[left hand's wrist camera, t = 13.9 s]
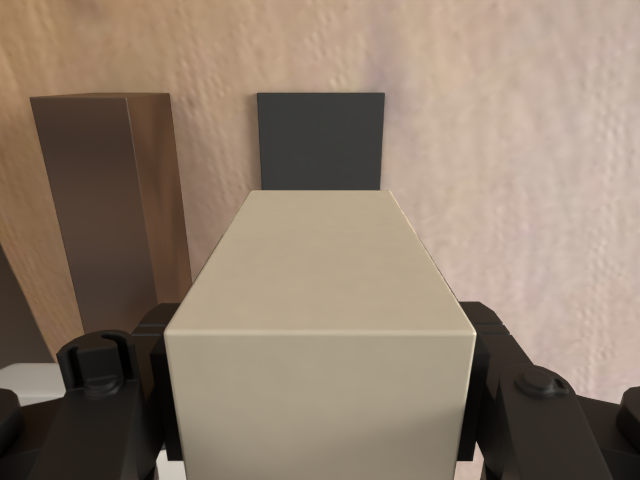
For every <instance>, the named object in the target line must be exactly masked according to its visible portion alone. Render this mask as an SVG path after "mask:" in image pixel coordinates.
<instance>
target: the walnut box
mask: <svg viewBox="0 0 640 480" xmlns="http://www.w3.org/2000/svg"><path fill="white" fill-rule="evenodd" d="M30 102H31V106H32V110H33V114H34V119H35V123H36V127H37V132H38V136H39V140H40V144H41V149H42V153H43V157H44V162H45V166H46V170H47V174H48V179H49V183H50V187H51V192H52V196H53V200H54V204H55V209H56V213H57V217H58V222H59V226H60V230H61V234H62V239H63V243H64V247H65V252H66V256H67V260H68V264H69V269H70V273H71V277H72V281H73V286H74V290H75V294H76V299H77V303H78V307H79V311H80V316H81V320H82V324H83V329H84V333H85V334H88V333H91V332H96V331H100V330H115V329H117V330H121V331H126V332H128V333H129V334H130V335H131V333H132V332H133V330H134V329H135V328H136V327H138V324H139V322H140V321H141V320H142V318H143V317H144V316H145V314H146V313H147V312H149V311H150V310H152V309H153V308H155V307H156V306H158V305H159V304H161V303H181V302H182V300H183V299H184V297H185V296H186V294H187V292H188V291H189V289H190V287H191V286H192V278H191V269H190V261H189V253H188V244H187V236H186V228H185V219H184V211H183V203H182V195H181V186H180V178H179V170H178V161H177V153H176V145H175V136H174V128H173V120H172V112H171V103H170V95H169V93H85V94H70V95H55V96H40V97H30Z"/></svg>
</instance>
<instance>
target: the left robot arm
mask: <svg viewBox="0 0 640 480" xmlns="http://www.w3.org/2000/svg"><path fill="white" fill-rule="evenodd" d="M417 236H418V235H417ZM222 237H223V236H222ZM222 237H221V238H222ZM418 238H419V237H418ZM419 239H420V238H419ZM220 240H221V239H220ZM420 241H421V240H420ZM218 243H219V242H218ZM422 244H423V243H422ZM217 245H218V244H217ZM217 245H216V246H217ZM423 246H424V245H423ZM215 248H216V247H215ZM425 249H426V248H425ZM214 250H215V249H214ZM214 250H213V251H214ZM426 251H427V250H426ZM427 252H428V251H427ZM212 253H213V252H212ZM428 254H429V253H428ZM210 256H211V255H210ZM429 256H430V255H429ZM430 257H431V256H430ZM209 258H210V257H209ZM209 258H208V259H209ZM431 259H432V258H431ZM432 260H433V259H432ZM207 261H208V260H207ZM433 262H434V261H433ZM205 264H206V263H205ZM434 264H435V263H434ZM435 265H436V264H435ZM204 266H205V265H204ZM204 266H203V267H204ZM436 267H437V266H436ZM202 269H203V268H202ZM437 269H438V268H437ZM438 270H439V269H438ZM201 271H202V270H201ZM201 271H200V272H201ZM439 272H440V271H439ZM440 273H441V272H440ZM199 274H200V273H199ZM441 275H442V274H441ZM197 277H198V276H197ZM442 277H443V276H442ZM443 278H444V277H443ZM196 279H197V278H196ZM196 279H195V280H196ZM444 280H445V279H444ZM194 282H195V281H194ZM445 282H446V280H445ZM446 283H447V282H446ZM192 285H193V284H192ZM447 285H448V284H447ZM191 287H192V286H191ZM191 287H190V288H191ZM448 287H449V285H448ZM449 288H450V287H449ZM189 290H190V289H189ZM450 290H451V289H450ZM451 291H452V290H451ZM188 292H189V291H188ZM188 292H187V293H188ZM452 293H453V292H452ZM186 295H187V294H186ZM453 295H454V293H453ZM454 296H455V295H454ZM184 298H185V297H184ZM455 298H456V297H455ZM183 300H184V299H183ZM183 300H182V301H183ZM456 300H457V298H456ZM457 301H458V300H457ZM181 303H182V302H181ZM181 303H161V304H159V305H158V306H156V307H155V308H153V309H152V310H150V311H149V312H147V313H146V314H145V316H144V317H143V318H142V320H141V321H140V322H139V324H138V327H136V328H135V329H134V330H133V332H132V333H131V335H130V334H129V333H128V332H126V331H121V330H117V329H115V330H100V331H96V332H91V333H88V334H85V335H83V336H80V337H78V338H75V339H74V340H72V341H71V342H69V343H67V344H66V345H64V346H63V347H62V348H61V349H60V351H59V352H58V353H57V354H56V356H57V360H58V363H59V367H60V371H61V375H62V378H63V382H64V386H65V390H66V392H65V394H64V397H61V398H57V399H53V400H49V401H44V402H39V403H35V404H30V405H25V406H21V405H20V402H19V399H18V396H17V394H16V393H14V392H13V391H12V390H10V389H3V388H0V480H159V474H158V467H157V462H156V460H157V458H158V456H159V453H160V451H161V448H162V446H163V444H164V443H165V448H166V454H167V460H168V461H183V455H182V449H181V443H180V436H179V430H178V423H177V417H176V410H175V404H174V397H173V391H172V384H171V378H170V372H169V365H168V359H167V352H166V346H165V339H164V331H165V329H166V327H167V326H168V324H169V322H170V321H171V319H172V317H173V316H174V314H175V313H176V311H177V309H178V308H179V306H180V305H181ZM458 303H459V304H460V306H461V308H462V309H463V311H464V313H465V314H466V316H467V318H468V319H469V321H470V322H471V324H472V326H473V327H474V329H475V331H476V341H475V347H474V353H473V360H472V366H471V372H470V379H469V385H468V392H467V398H466V404H465V411H464V417H463V423H462V430H461V436H460V443H459V449H458V455H457V461H473V456H474V450H475V444H476V441H477V443H478V446H479V448H480V450H481V453H482V455H483V457H484V462H483V467H482V473H481V478H480V480H640V386H639V387H632V388H629V389H628V390H627V391H626V392H624V394H623V397H622V400H621V403H620V405H619V404H614V403H610V402H605V401H600V400H595V399H591V398H586V397H583V396H579V395H576V394H575V391H574V390H573V388H572V387H571V386H570V384H569V383H568V382H567V381H566V380H565V379H563V378H562V377H561V376H559V375H558V374H557V373H555V372H553V371H550V370H548V369H546V368H544V367H541V366H537V365H534V364H533V363H532V362H531V360H530V359H529V358H528V356H527V355H526V354H525V352H524V351H523V350H522V348H521V347H520V346H519V344H518V343H517V342H516V340H515V339H514V338H513V336H512V335H510V332H509V331H508V330H507V328H506V327H505V325H503V323H502V321H501V320H500V319H499V317H498V316H497V315H496V313H495V312H494V311H493V310H491V309H490V308H488V307H487V306H485V305H483V304H482V303H480V302H459V301H458Z"/></svg>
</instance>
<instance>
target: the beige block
mask: <svg viewBox="0 0 640 480" xmlns="http://www.w3.org/2000/svg"><path fill="white" fill-rule="evenodd" d="M164 339H165V346H166V352H167V359H168V365H169V372H170V378H171V384H172V391H173V397H174V404H175V410H176V417H177V423H178V430H179V436H180V443H181V449H182V455H183V462H184V468H185V475H186V480H454V474H455V468H456V462H457V455H458V449H459V443H460V436H461V430H462V423H463V417H464V411H465V404H466V398H467V392H468V385H469V379H470V372H471V366H472V360H473V353H474V347H475V341H476V331H475V329H474V327H473V326H472V324H471V322H470V321H469V319H468V318H467V316H466V314H465V313H464V311H463V309H462V308H461V306H460V304H459V303H458V301H457V300H456V298H455V296H454V295H453V293H452V291H451V290H450V288H449V287H448V285H447V283H446V282H445V280H444V278H443V277H442V275H441V273H440V272H439V270H438V269H437V267H436V265H435V264H434V262H433V260H432V259H431V257H430V256H429V254H428V252H427V251H426V249H425V247H424V246H423V244H422V242H421V241H420V239H419V238H418V236H417V234H416V233H415V231H414V229H413V228H412V226H411V225H410V223H409V221H408V220H407V218H406V216H405V215H404V213H403V211H402V210H401V208H400V207H399V205H398V203H397V202H396V200H395V198H394V197H393V195H392V194H391V192H390V191H370V190H252V191H250V193H249V194H248V196H247V198H246V199H245V201H244V203H243V204H242V206H241V207H240V209H239V211H238V212H237V214H236V216H235V217H234V219H233V220H232V222H231V224H230V225H229V227H228V228H227V230H226V232H225V233H224V235H223V237H222V238H221V240H220V241H219V243H218V245H217V246H216V248H215V250H214V251H213V253H212V254H211V256H210V258H209V259H208V261H207V262H206V264H205V266H204V267H203V269H202V271H201V272H200V274H199V275H198V277H197V279H196V280H195V282H194V283H193V285H192V287H191V288H190V290H189V292H188V293H187V295H186V296H185V298H184V300H183V301H182V303H181V305H180V306H179V308H178V309H177V311H176V313H175V314H174V316H173V317H172V319H171V321H170V322H169V324H168V326H167V327H166V329H165V331H164Z"/></svg>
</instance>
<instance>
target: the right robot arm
mask: <svg viewBox="0 0 640 480" xmlns="http://www.w3.org/2000/svg"><path fill="white" fill-rule="evenodd" d="M0 388H3V389H10V390H12V391H13V392H14V393H16V394H17V396H18V399H19V402H20V405H21V406H25V405H30V404H35V403H39V402H44V401H49V400H53V399H57V398H61V397H64V394H65V392H66V390H65V386H64V382H63V378H62V375H61V371H60V367H59V363H16V364H12V365H9V366H7V367H5V368H2V369H0ZM156 462H157V467H158V474H159V480H186V475H185V468H184V462H183V461H168V460H167V454H166V448H165V443H164V444H163V446H162V448H161V451H160V453H159V456H158V458H157V460H156Z"/></svg>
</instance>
